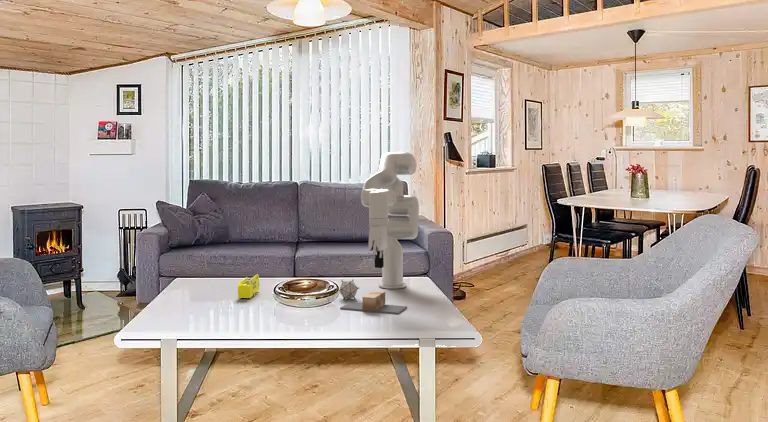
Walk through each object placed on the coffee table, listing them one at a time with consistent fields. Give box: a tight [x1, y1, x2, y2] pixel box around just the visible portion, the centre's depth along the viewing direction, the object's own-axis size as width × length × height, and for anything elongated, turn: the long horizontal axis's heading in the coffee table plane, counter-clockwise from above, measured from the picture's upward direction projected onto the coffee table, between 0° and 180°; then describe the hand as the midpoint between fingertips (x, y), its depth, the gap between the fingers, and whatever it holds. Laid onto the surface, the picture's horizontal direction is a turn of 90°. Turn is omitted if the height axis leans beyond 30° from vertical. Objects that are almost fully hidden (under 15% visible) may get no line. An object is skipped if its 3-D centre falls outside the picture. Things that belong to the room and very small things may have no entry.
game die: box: [338, 279, 360, 301], centre depth 247 cm, size 9×8×10 cm
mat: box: [339, 301, 408, 315], centre depth 231 cm, size 10×24×1 cm, turn 70°
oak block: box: [361, 290, 386, 311], centre depth 231 cm, size 5×5×12 cm
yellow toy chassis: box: [237, 273, 260, 299], centre depth 254 cm, size 16×6×8 cm, turn 178°
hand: (379, 267), depth 236 cm, fingers closed
